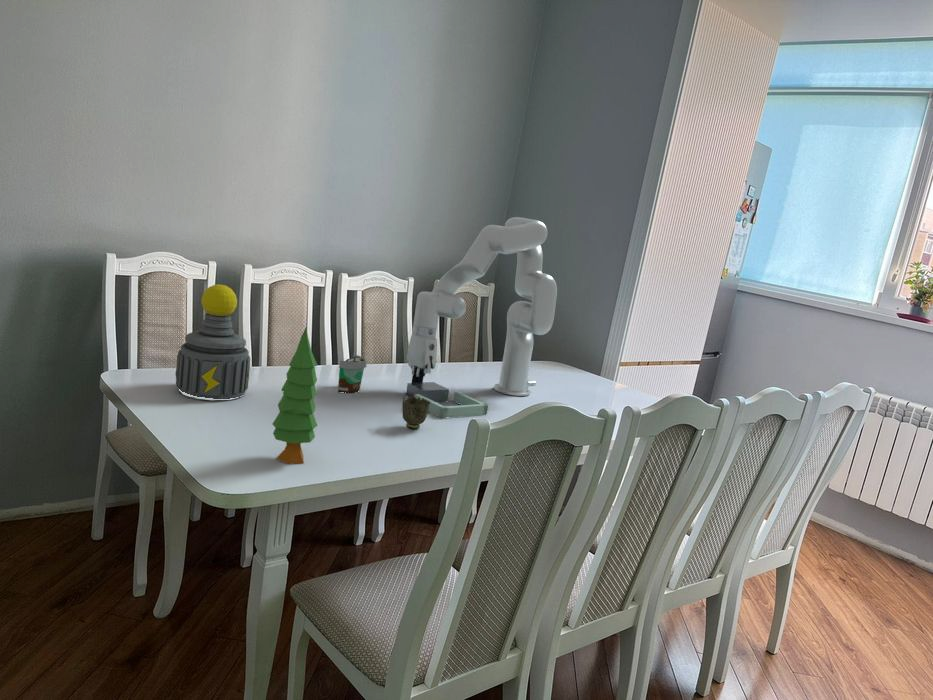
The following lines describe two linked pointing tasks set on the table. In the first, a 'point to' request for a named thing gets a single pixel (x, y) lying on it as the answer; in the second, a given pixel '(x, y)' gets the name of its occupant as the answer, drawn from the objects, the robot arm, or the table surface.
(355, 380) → the food container
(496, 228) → the robot arm
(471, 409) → the bay
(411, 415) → the cup
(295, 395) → the decorative tree
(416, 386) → the gray rectangular block
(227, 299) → the decorative lamp
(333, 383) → the table surface
